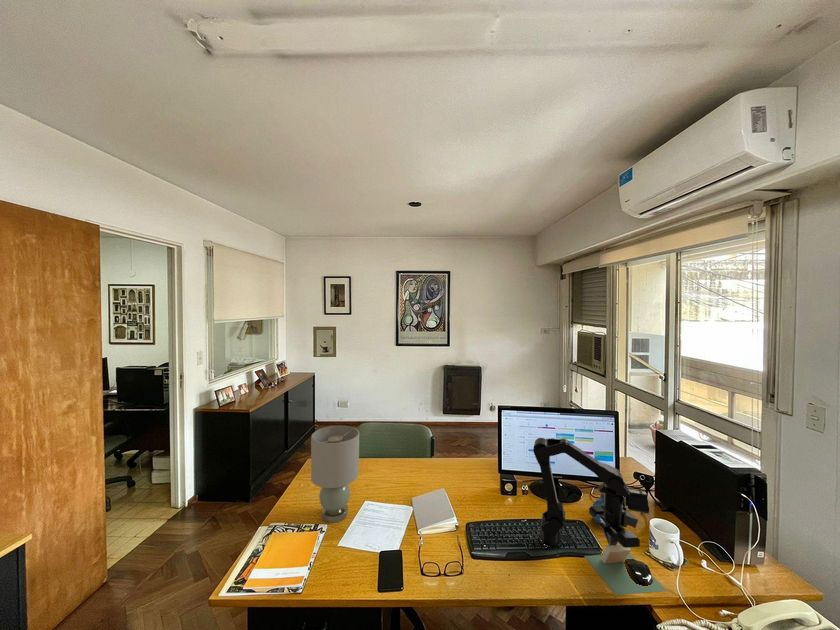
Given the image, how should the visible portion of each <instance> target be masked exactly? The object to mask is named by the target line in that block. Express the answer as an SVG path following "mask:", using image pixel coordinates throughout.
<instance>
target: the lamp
mask: <svg viewBox="0 0 840 630" xmlns="http://www.w3.org/2000/svg"><path fill="white" fill-rule="evenodd" d="M310 438H311V439H310V441H311V442H310V452H311V453H310V462H311V463H310V471H311V472H310V481H311V482H312V484H313V485H315V486H316V487H319V488H320V491H319V496H318V497H319V503H320V505H321V507H322V508H321V519H322V520H323V522H325V523H328V524H336V523H338V522H342V521H343V520H345V519H346V517H347V516H348V511H349V510H348V508H349V507H348V502H349V500H350V497H351V488H350V485H349V484H351V483H353V482H354V481H356V479H358V478H359V471H360V470H359V466H360V431H359V430H358V429H357V428H356V427H354V426H353V427H352V426H348V425H332V426H325V427H322V428H320V429H319V428H318V429H317V430H316V431H314V432H313V433H312V434H311V437H310Z"/></svg>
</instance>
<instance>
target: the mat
mask: <svg viewBox="0 0 840 630" xmlns="http://www.w3.org/2000/svg"><path fill="white" fill-rule="evenodd" d="M583 556H584V558H585V560H586V561H587V562H588V563H589V564H590V566H591V567H592V568H593V569H594V571H595V572H596V573H597V574H598V576H599V577H600V579H602V581H603V582H604V583H605V584H606V586H607V587H608V588H609V589H610V590H611V592H612V594H614V596H619V595H620V596H621V595H632V594H643V593H654V592H657V593H658V592H667V591H668V590H667V589H666V588H665V587H664V586H663V585H662V584H661V582H659V581H658V580H657V579H656V577H654V576H653V583H652V584H651V585H648V586H642V585H639V584H636V583H635V582H634V581H633V580H632V579H631V578H630V576H629V574H628V572H627V569H626V567H625V564H624V562H616V563H603V561H602V559H601V556H602V554H595V555H583ZM626 559H636V558H635V557H634V556H633V555H632V554H631V553H629V555H628V556H627V558H626Z"/></svg>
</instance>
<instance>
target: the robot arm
mask: <svg viewBox="0 0 840 630" xmlns="http://www.w3.org/2000/svg"><path fill="white" fill-rule="evenodd" d="M532 450H533V454H534V457H535V459H536V461H537V463H538V465H539V469H540V474H541V479H542V482H543V488H544V494H545V498H546V509H547V510H545V512H542V514H541V515H542V516H541V517H542V518H541V524H540V525H539V536H540V538H541V540H542V542H543V544H546V545H548V546H550V547H547V546H545V547H547V548H549V549H561V548H560V547H559V548H558V546H556V545H557V544H561V531H560V530H562V529H563V527H564V525H565V523H566V511H565V509H564V502H560V501H559V499H558V496H557V491H556V485H555V482H554V481H555V480H554V477H553V471H552V467H551V457H554V456H557V455H560V454H566V455H567V456H569V457H571V458H572V459H573V460H574V461H576V462H578V463H579V464H580V465H582V466H584V467H585V468H587V470H589V471H590V472H592V473H594V474H595V475H596V476H597V477H598V479H599V480H600V481H601V482H602V483H601V484H600V485H597V486H598V492H599V493H601V492H602V493H604V504H603V505H601V506H593V505H591V506H590V507H589V508H588V513H589V515H590V516H591V517H592V518H593V517H596V514H598V515H599V516H600V517H601V518H600V520H601V523H598V525H599V527H600V529H601V530H602V532H603V536H604V537H605V540H606V542H607V544H608V546H612V545H618V543H619V545H622V546H623V547H625V548H640V546H641V539H640V538H639V537H638V536H636V534H635V533H634V532H632V531H631V530H626V528H627V527H628V526H629V527H632V528H634V529H636V528H637V525H638V524H639V523H638V522H639V518H637V516H635V515H634V514H632V512H636V513H640V514H641V513H642V514H645V515H649V514H650V506H649V499H648V494H647V492H646V491H643V490H641V491H639V490H634V489H629V488H628V484H627V483H626V482H624V478H623V475H622V473H621V471H620V470H619V469H617V468H616V467H614V466H611V465H610V464H607V463H604V462H601V461H599V460H597V459H596V458H594V457H593V456H591V455H590V454H588V453H587V452H585V451H583V450H582V449H581V448H579V447H578V446H576V445H575V444H573V443H572V442H571V441H569V440H568V439H567V438H559V439H558V438H544V437H538V438H536V439H535V441H534V445H533V448H532ZM623 504H624V505H623ZM628 510H629V511H628ZM630 511H631V512H630Z"/></svg>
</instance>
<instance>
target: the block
mask: <svg viewBox="0 0 840 630" xmlns="http://www.w3.org/2000/svg"><path fill="white" fill-rule="evenodd" d="M631 551H632V548H631V547H629V548H625V547H623V546H622V545H621V544H617V545H612V546H609V545H606V546H605V547H604V550H603V551H602V554H601V555H602V556H601V559H602V561H603V563H616V562H625V560H626V558H627V556H628V555H629V553H630V552H631ZM630 554H631V553H630Z"/></svg>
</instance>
